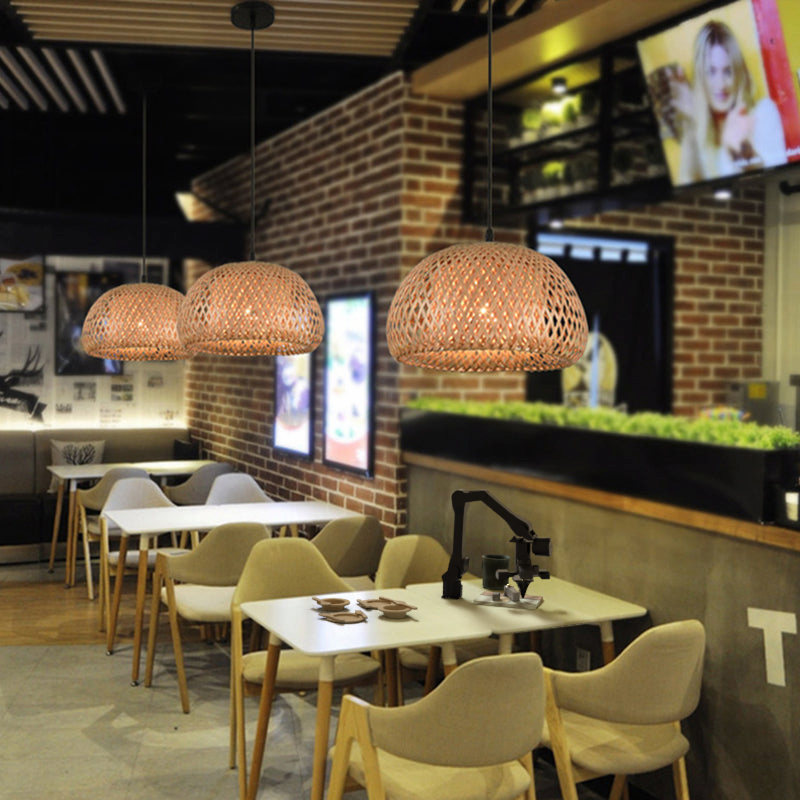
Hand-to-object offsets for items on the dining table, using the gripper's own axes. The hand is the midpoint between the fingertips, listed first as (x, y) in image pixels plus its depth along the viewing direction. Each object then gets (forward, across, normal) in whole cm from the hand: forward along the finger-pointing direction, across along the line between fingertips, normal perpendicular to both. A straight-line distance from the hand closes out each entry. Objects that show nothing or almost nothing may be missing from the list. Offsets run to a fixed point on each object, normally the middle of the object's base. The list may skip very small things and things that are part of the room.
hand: (522, 598), depth 368 cm
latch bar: (0, -3, +5) cm, 6 cm away
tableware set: (+1, -58, -14) cm, 60 cm away
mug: (+2, -5, +32) cm, 32 cm away
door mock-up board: (+2, -4, +5) cm, 7 cm away
